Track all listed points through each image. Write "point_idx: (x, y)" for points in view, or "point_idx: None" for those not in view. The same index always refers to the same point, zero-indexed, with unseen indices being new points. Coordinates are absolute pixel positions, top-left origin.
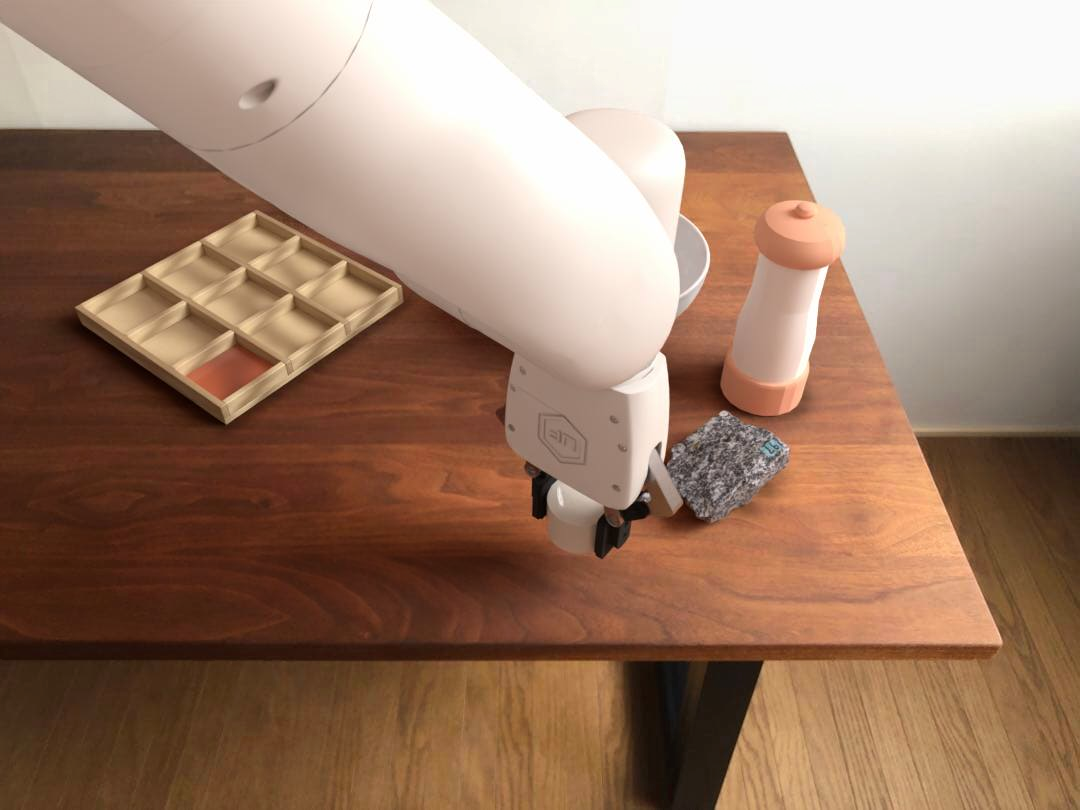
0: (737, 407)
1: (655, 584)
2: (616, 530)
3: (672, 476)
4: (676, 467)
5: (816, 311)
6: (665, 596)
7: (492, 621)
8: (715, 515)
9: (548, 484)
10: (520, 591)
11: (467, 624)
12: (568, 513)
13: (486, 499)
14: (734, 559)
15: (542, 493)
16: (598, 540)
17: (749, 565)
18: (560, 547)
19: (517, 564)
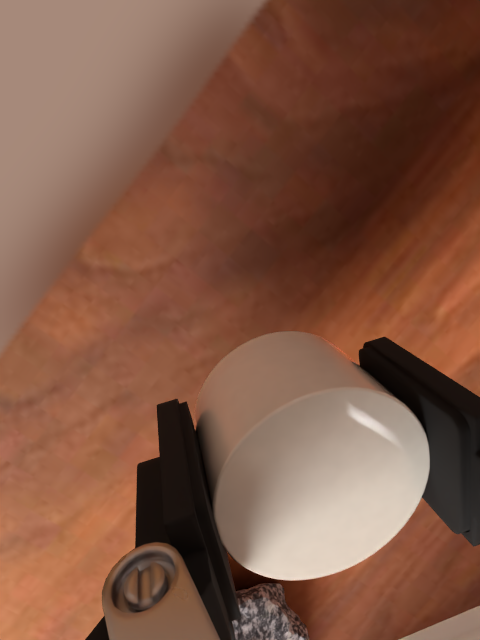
0: None
1: (102, 446)
2: (146, 524)
3: (258, 612)
4: (268, 629)
5: None
6: (66, 446)
7: (242, 111)
8: None
9: (443, 442)
10: (261, 216)
11: (272, 57)
12: (313, 429)
13: (463, 300)
14: (59, 587)
15: (430, 405)
16: (176, 443)
17: (31, 602)
18: (261, 338)
19: (315, 254)
